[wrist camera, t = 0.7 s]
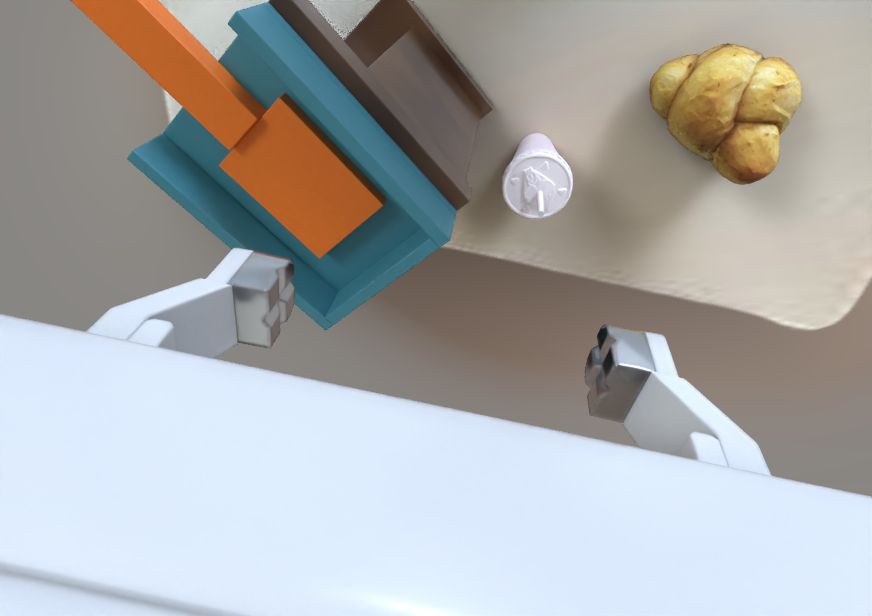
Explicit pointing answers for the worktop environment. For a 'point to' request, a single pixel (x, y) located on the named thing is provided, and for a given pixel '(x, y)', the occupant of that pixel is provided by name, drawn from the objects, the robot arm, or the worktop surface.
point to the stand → (403, 85)
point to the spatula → (247, 127)
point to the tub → (348, 129)
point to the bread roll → (728, 107)
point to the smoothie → (537, 179)
